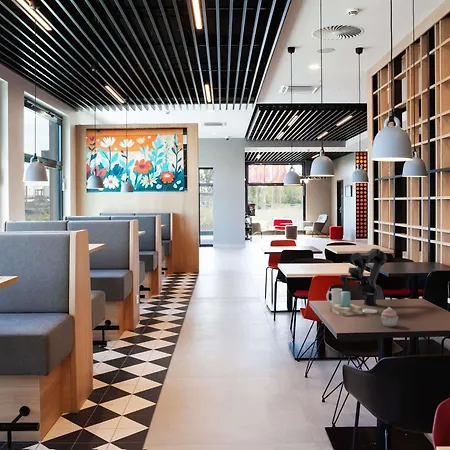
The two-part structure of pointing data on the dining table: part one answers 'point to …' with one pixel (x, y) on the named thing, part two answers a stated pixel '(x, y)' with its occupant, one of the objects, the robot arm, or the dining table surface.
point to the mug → (335, 296)
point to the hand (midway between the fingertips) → (351, 290)
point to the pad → (369, 311)
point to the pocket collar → (346, 310)
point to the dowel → (345, 299)
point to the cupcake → (389, 317)
